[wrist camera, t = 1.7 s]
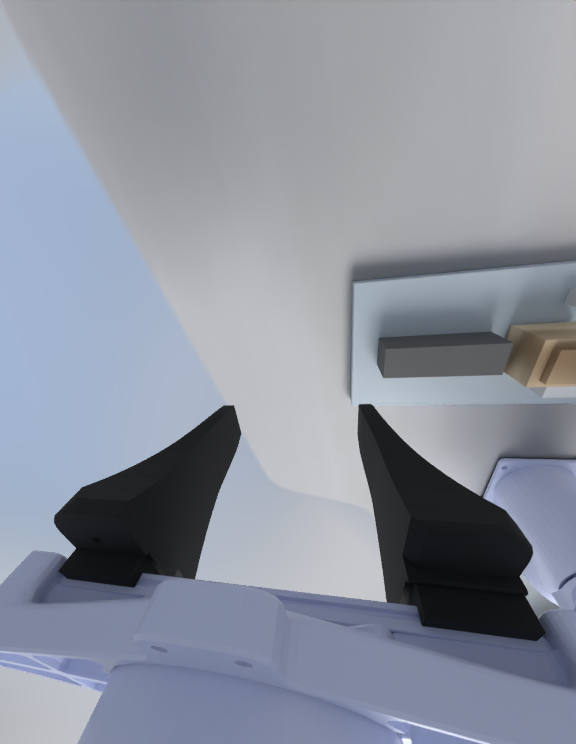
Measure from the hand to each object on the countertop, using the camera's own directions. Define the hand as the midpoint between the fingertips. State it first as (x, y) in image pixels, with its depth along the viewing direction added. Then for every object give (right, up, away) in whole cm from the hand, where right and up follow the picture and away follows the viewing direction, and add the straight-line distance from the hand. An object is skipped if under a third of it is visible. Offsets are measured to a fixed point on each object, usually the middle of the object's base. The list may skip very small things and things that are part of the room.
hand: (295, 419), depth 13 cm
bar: (+11, +4, +6) cm, 13 cm away
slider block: (+18, +5, +5) cm, 19 cm away
